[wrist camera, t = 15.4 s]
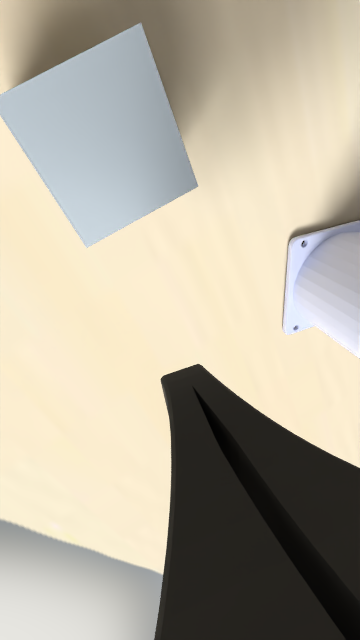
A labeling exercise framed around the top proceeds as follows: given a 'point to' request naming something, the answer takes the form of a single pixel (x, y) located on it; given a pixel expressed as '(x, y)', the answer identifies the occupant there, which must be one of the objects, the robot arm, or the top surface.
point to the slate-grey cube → (102, 135)
